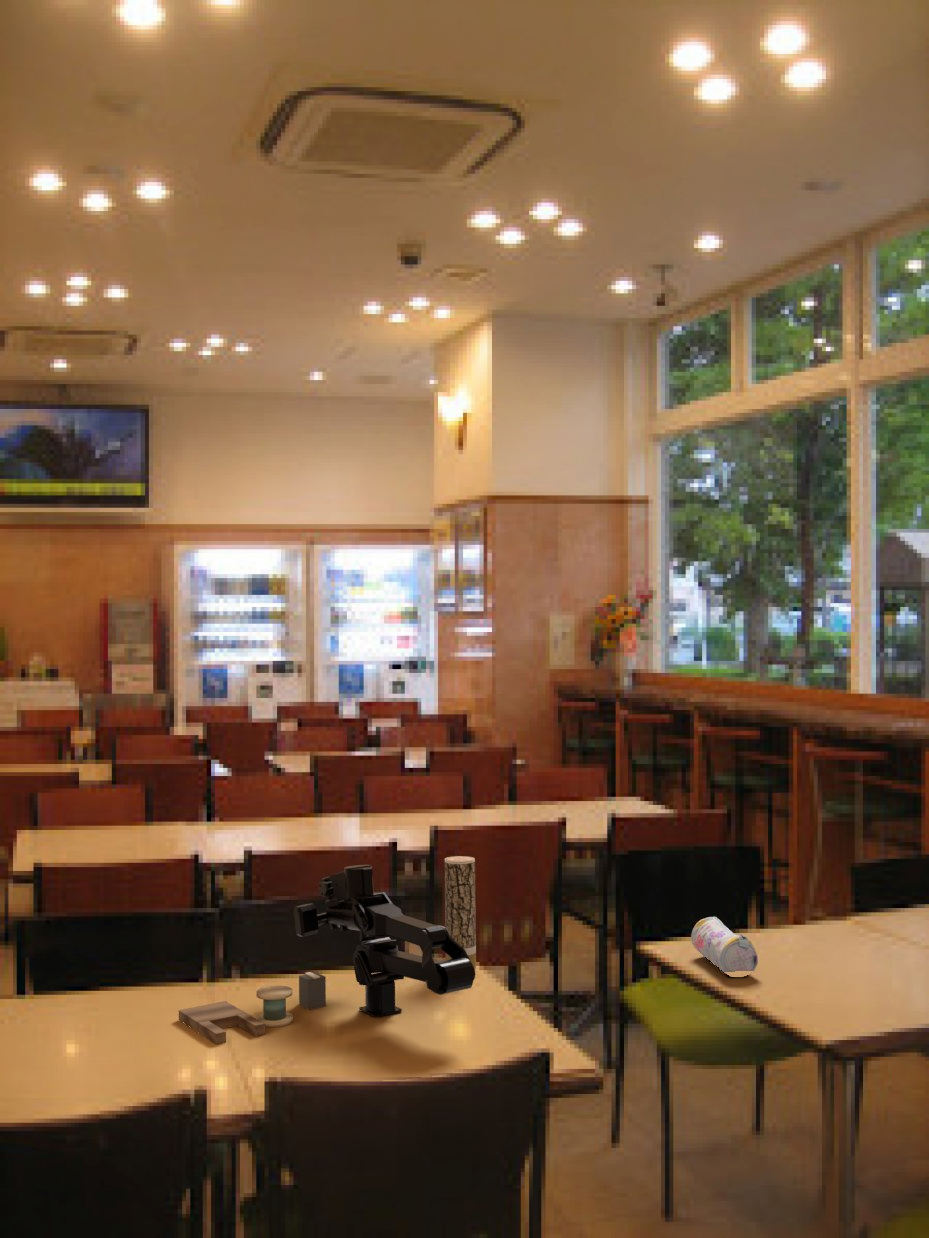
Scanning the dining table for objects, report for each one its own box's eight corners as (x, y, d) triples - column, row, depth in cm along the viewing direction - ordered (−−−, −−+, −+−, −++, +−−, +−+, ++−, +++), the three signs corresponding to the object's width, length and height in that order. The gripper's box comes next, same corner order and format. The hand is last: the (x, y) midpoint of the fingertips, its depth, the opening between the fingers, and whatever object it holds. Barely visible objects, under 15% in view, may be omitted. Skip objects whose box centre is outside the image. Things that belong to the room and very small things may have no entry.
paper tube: (472, 975, 282) (471, 862, 282) (442, 974, 283) (441, 861, 283) (478, 967, 289) (477, 856, 289) (449, 965, 290) (448, 855, 290)
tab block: (325, 1006, 261) (325, 975, 261) (308, 1009, 258) (308, 978, 258) (316, 1001, 264) (316, 970, 264) (299, 1004, 262) (298, 974, 262)
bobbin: (298, 1022, 250) (298, 991, 250) (266, 1029, 246) (266, 998, 246) (282, 1013, 256) (282, 983, 256) (250, 1020, 252) (250, 989, 252)
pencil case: (760, 979, 277) (759, 935, 277) (721, 981, 276) (721, 937, 276) (724, 954, 298) (724, 913, 298) (689, 956, 296) (688, 915, 297)
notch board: (265, 1034, 243) (265, 1023, 243) (216, 1044, 237) (216, 1033, 237) (225, 1010, 258) (225, 1001, 258) (178, 1020, 252) (178, 1010, 252)
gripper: (386, 867, 270) (347, 864, 283) (310, 885, 259) (273, 881, 271) (392, 920, 270) (353, 914, 282) (316, 940, 259) (279, 933, 271)
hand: (315, 909), depth 277 cm, fingers open, 9 cm apart
